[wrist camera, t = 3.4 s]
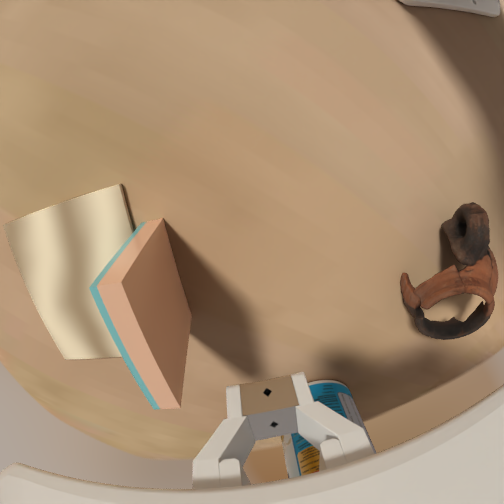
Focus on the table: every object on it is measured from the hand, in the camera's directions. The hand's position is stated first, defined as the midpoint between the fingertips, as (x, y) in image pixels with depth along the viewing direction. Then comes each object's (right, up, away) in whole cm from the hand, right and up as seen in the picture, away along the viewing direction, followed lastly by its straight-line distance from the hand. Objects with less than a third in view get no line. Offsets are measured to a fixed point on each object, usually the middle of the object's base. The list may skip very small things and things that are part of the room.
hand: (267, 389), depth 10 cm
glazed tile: (-7, +4, +10) cm, 13 cm away
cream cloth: (-14, +2, +10) cm, 17 cm away
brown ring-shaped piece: (+16, +5, +12) cm, 21 cm away
